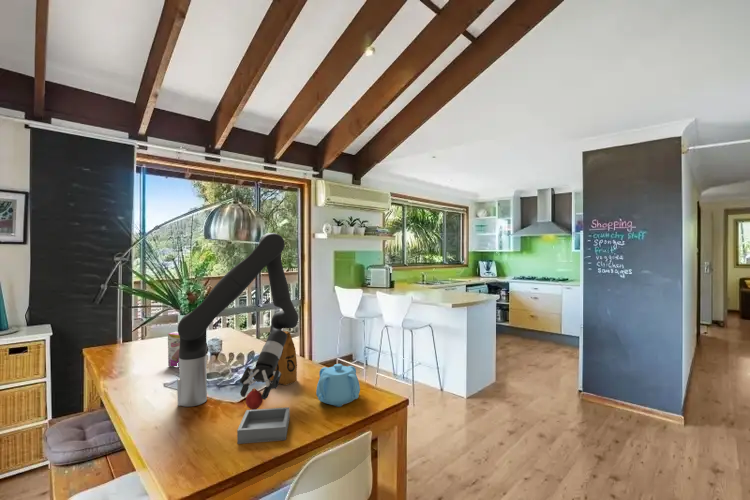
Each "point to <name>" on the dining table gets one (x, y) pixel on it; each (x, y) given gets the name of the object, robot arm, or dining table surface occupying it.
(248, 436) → the bin
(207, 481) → the dining table surface
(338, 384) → the decorative pot
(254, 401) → the onion
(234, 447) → the dining table surface
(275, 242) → the robot arm
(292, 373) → the coffee package
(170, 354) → the candy bar box
